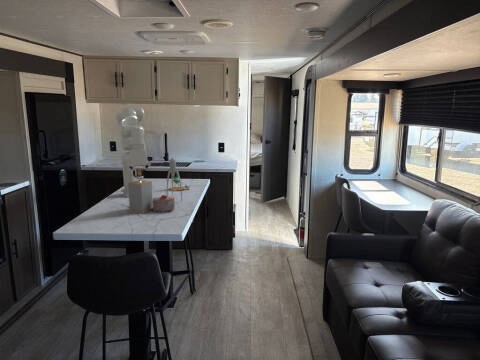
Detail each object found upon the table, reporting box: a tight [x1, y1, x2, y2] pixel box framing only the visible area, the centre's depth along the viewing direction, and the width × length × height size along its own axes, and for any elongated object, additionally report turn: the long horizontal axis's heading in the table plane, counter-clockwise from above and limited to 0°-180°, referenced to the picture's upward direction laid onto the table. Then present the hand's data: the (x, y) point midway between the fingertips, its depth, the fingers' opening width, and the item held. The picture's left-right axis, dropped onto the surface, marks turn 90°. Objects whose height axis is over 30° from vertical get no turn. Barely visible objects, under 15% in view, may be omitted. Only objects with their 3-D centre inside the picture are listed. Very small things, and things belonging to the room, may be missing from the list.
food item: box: [152, 194, 176, 213], centre depth 224 cm, size 14×8×10 cm, turn 98°
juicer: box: [166, 157, 183, 201], centre depth 245 cm, size 10×9×30 cm
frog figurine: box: [168, 172, 191, 192], centre depth 280 cm, size 10×18×15 cm, turn 80°
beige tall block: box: [126, 179, 153, 215], centre depth 224 cm, size 12×12×18 cm
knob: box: [135, 168, 145, 183], centre depth 223 cm, size 8×8×25 cm
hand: (139, 176), depth 222 cm, fingers closed on knob, 5 cm apart
